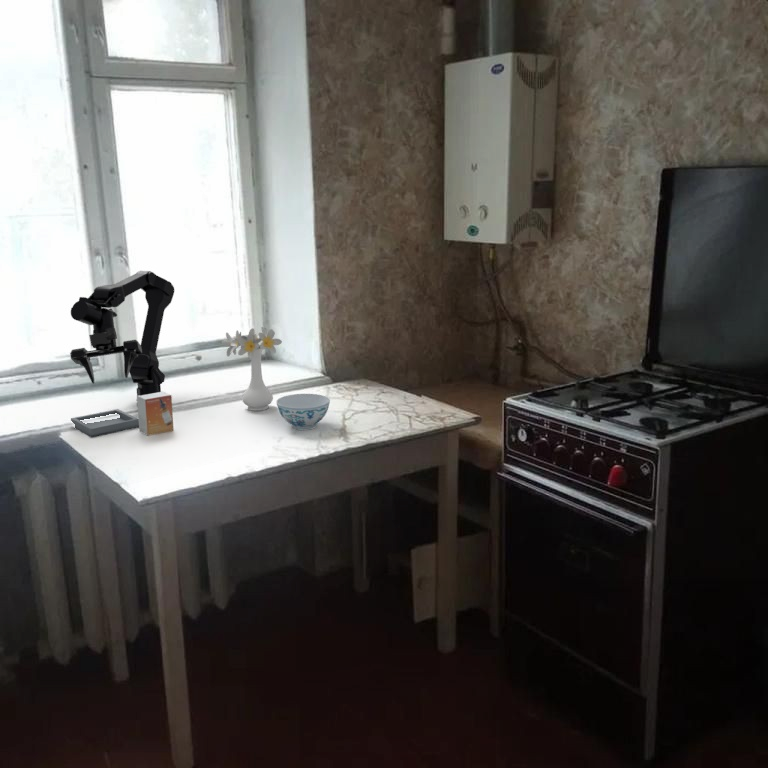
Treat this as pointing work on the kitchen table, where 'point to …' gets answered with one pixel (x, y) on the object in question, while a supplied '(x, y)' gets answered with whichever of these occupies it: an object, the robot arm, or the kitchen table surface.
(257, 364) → the flower vase
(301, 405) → the chinaware
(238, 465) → the kitchen table surface
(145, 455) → the kitchen table surface
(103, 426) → the tray
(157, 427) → the small box
